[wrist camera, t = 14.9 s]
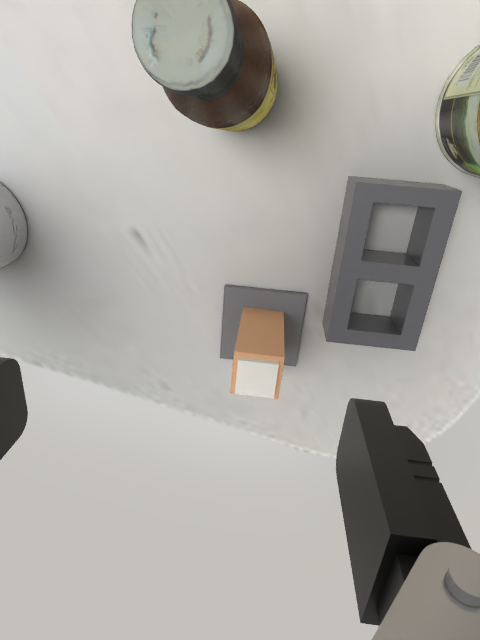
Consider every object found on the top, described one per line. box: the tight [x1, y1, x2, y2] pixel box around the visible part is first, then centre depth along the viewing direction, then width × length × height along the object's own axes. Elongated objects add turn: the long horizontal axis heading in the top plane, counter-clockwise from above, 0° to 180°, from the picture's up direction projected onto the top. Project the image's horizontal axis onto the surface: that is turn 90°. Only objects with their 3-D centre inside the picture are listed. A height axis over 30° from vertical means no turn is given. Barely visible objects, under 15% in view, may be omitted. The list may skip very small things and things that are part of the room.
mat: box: [220, 285, 307, 366], centre depth 42 cm, size 8×8×1 cm
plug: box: [230, 307, 285, 399], centre depth 37 cm, size 4×4×10 cm
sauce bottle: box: [132, 0, 278, 131], centre depth 25 cm, size 6×6×20 cm
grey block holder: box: [323, 176, 462, 351], centre depth 37 cm, size 8×14×4 cm, turn 176°
